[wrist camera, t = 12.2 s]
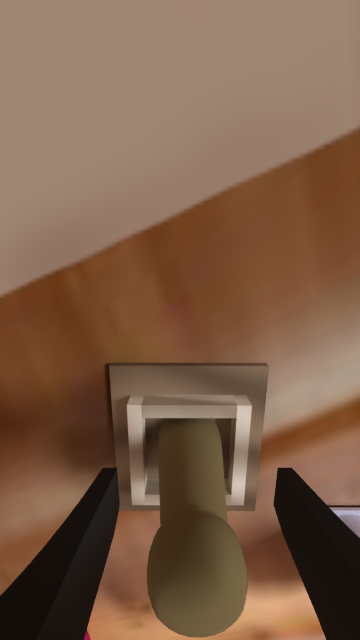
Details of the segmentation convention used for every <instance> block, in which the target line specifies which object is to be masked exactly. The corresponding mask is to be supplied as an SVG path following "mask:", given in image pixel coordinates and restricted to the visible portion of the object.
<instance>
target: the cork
mask: <svg viewBox="0 0 360 640" xmlns="http://www.w3.org/2000/svg"><path fill="white" fill-rule="evenodd" d="M157 442H158V469H159V496H160V522H161V526H160V528H159V529H158V531H157V533H156V535H155V537H154V539H153V542H152V545H151V549H150V552H149V558H148V567H147V583H148V594H149V598H150V601H151V604H152V607H153V609H154V612H155V614H156V616H157V618H158V619H159V620H160V621H161V622H162V623H163V624H164V625H165V626H166V627H168V628H169V629H170V630H172V631H174V632H176V633H178V634H180V635H184V636H188V637H207V636H213V635H216V634H218V633H220V632H223V631H225V630H226V629H227V628H229V627H230V626H231V625H232V624H233V623H234V622H235V621H236V620H237V619H238V618H239V616H240V615H241V613H242V611H243V609H244V604H245V599H246V594H247V587H248V580H247V568H246V564H245V560H244V555H243V552H242V548H241V545H240V543H239V540H238V538H237V536H236V534H235V532H234V531H233V529H232V528H231V527H230V526H229V524H228V520H227V507H226V494H225V481H224V468H223V455H222V442H221V433H220V430H219V426H218V425H217V424H216V422H215V421H214V419H212V418H166V419H165V421H164V422H163V423H162V424H161V426H160V428H159V431H158V440H157Z"/></svg>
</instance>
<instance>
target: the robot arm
mask: <svg viewBox="0 0 360 640" xmlns="http://www.w3.org/2000/svg"><path fill="white" fill-rule="evenodd" d="M119 506H120V500H119V486H118V472H117V468H103V469H102V470H101V471H100V473H99V474H98V476H97V477H96V479H95V480H94V482H93V483H92V485H91V486H90V487H89V489H88V490H87V492H86V493H85V494H84V496H83V497H82V499H81V500H80V501H79V503H78V504H77V505H76V507H75V508H74V509H73V511H72V512H71V513H70V515H69V516H68V517H67V519H66V520H65V521H64V523H63V524H62V525H61V526H60V528H59V529H58V530H57V531H56V533H55V534H54V535H53V536H52V538H51V539H50V540H49V541H48V542H47V544H46V545H45V546H44V547H43V549H42V550H41V551H40V552H39V553H38V555H37V556H36V557H35V558H34V559H33V560H32V562H31V563H30V564H29V565H28V566H27V567H26V568H25V570H24V571H23V572H22V573H21V574H20V575H19V576H18V577H17V578H16V580H15V581H14V582H13V583H12V584H11V585H10V586H9V587H8V588H7V589H6V590H5V591H4V592H3V594H2V595H1V596H0V640H84V638H85V634H86V630H87V627H88V623H89V619H90V615H91V612H92V608H93V605H94V602H95V598H96V595H97V591H98V588H99V584H100V581H101V578H102V574H103V571H104V567H105V564H106V560H107V557H108V553H109V550H110V546H111V543H112V539H113V536H114V531H115V526H116V522H117V516H118V511H119ZM274 507H275V510H276V514H277V517H278V520H279V523H280V526H281V529H282V532H283V535H284V538H285V540H286V543H287V545H288V548H289V550H290V552H291V555H292V557H293V560H294V562H295V564H296V567H297V569H298V572H299V574H300V576H301V579H302V581H303V583H304V586H305V588H306V591H307V593H308V595H309V598H310V600H311V603H312V605H313V607H314V610H315V612H316V614H317V617H318V619H319V622H320V625H321V627H322V630H323V632H324V635H325V637H326V640H360V507H328V506H327V505H326V504H325V503H324V502H323V501H322V500H321V498H320V497H319V496H318V495H317V494H316V493H315V492H314V491H313V490H312V489H311V488H310V487H309V486H308V485H307V484H306V483H305V481H304V480H303V479H302V478H301V477H300V476H299V475H298V474H297V473H296V472H295V471H294V470H293V469H292V468H278V471H277V480H276V489H275V497H274Z"/></svg>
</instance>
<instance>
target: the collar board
mask: <svg viewBox="0 0 360 640" xmlns="http://www.w3.org/2000/svg"><path fill="white" fill-rule="evenodd" d="M268 370H269V366H268V365H267V364H266V363H111V364H110V365H109V372H110V386H111V401H112V415H113V430H114V445H115V459H116V468H117V472H118V486H119V500H120V506H119V511H160V496H159V469H158V442H157V440H158V431H159V428H160V426H161V424H162V423H163V422H164V421H165V419H166V418H212V419H214V421H215V422H216V424H217V425H218V426H219V430H220V433H221V442H222V455H223V468H224V481H225V494H226V507H227V511H255V504H256V493H257V483H258V473H259V462H260V452H261V442H262V432H263V421H264V411H265V401H266V390H267V380H268Z"/></svg>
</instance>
